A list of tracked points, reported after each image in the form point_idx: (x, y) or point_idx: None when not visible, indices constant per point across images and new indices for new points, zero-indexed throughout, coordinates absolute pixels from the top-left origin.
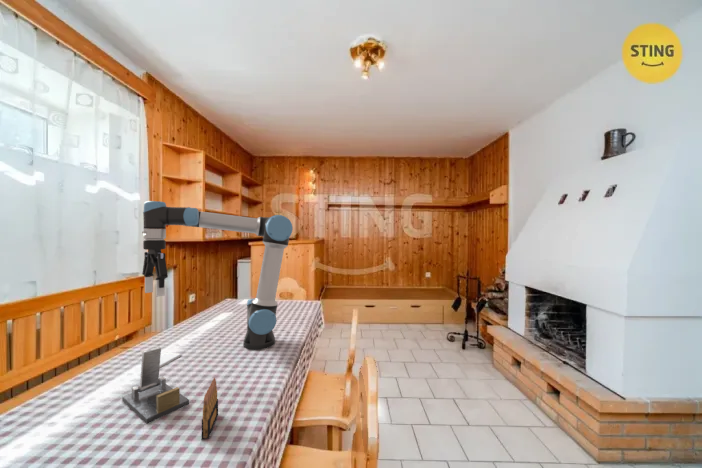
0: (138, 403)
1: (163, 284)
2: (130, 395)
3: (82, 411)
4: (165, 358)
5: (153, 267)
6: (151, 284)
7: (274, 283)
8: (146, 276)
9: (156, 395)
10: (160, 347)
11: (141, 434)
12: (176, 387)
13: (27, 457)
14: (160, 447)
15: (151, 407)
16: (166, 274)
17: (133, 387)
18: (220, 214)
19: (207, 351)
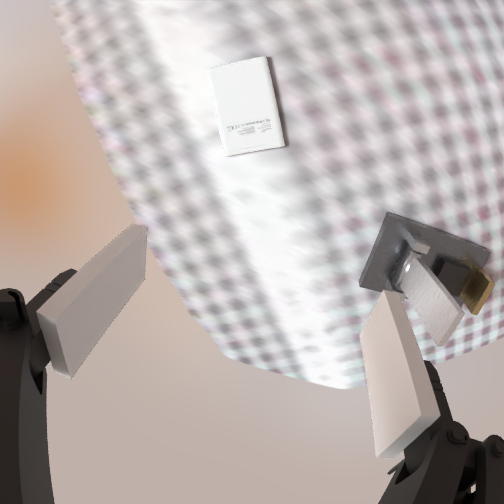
0: None
1: (438, 390)
2: (373, 279)
3: (319, 321)
4: (250, 99)
5: (21, 463)
6: (110, 278)
7: None
8: (44, 361)
9: (440, 279)
10: (462, 312)
11: (462, 321)
12: (488, 283)
13: (360, 381)
14: (496, 324)
15: None
16: (502, 472)
17: None
18: None
19: (316, 2)
